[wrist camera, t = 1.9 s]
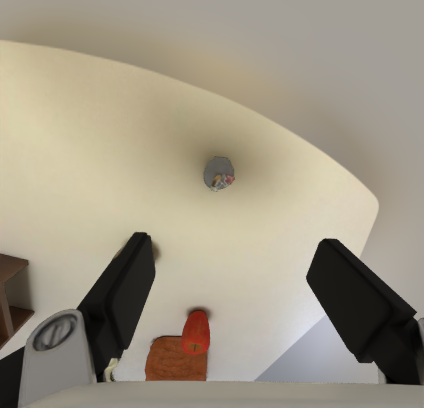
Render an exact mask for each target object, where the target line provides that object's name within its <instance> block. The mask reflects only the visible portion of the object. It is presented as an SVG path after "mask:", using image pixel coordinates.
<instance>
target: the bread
mask: <svg viewBox="0 0 424 408" xmlns="http://www.w3.org/2000/svg"><path fill="white" fill-rule="evenodd" d="M181 338H182V337H162V338H158V339H157V340H156V341H155V342H154V343H153V344H152V346H151V347H150V352H149V354H148V356H147V361H146V366H145V374H146V380H145V381H206V373H207V351H206V352H204V353H201V354H196V355H192V354H188V353H186V352H185V351H184V350H183V349H182V346H181Z"/></svg>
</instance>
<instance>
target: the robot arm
mask: <svg viewBox="0 0 424 408" xmlns="http://www.w3.org/2000/svg"><path fill="white" fill-rule="evenodd" d="M154 278H155V264H154V257H153V250H152V243H151V237H150V235H147V233H145V232H135V233H134V234H133V235H132V237H131V238H130V240H129V241H128V242H127V244H126V245H125V247H124V248H123V249H122V251H121V252H120V254H119V255H118V256H117V257H115V258H114V259H113V260H112V261H111V262H110V264H109V265H108V266H107V268H106V269H105V271H104V272H103V273H102V275H101V276H100V277H99V279H98V280H97V281H96V283H95V284H94V285H93V287H92V288H91V290H90V291H89V292H88V294H87V295H86V296H85V298H84V299H83V300H82V302H81V303H80V305H79V306H78V307H77V309H68V310H63V311H60V312H58V313H55V314H54V315H52V316H50V317H49V318H47V319H46V320H44V321H43V322H42V323H41V324H39V325H38V326H37V328H36V329H35V330H34V331H33V332H32V333H31V335H30V336H29V338H28V339H27V342H26V345H25V346H24V347H22V348H20V349H18V350H17V351H15V352H13V353H11V354H10V355H8V356H6V357H5V358H3V359H1V360H0V408H424V318H421V319H419V320H418V321H417V320H416V319H414V318H413V316H414V315H415V314H416V313H417V312H416V311H415V310H414V309H413V308H412V307H411V306H410V305H409V304H408V303H407V302H405V301H404V300H403V299H402V298H401V297H400V296H399V295H398V294H397V293H396V292H394V291H393V290H392V289H391V288H390V287H389V286H388V285H387V284H386V283H385V282H384V281H382V280H381V279H380V278H379V277H378V276H377V275H376V274H375V273H374V272H372V271H371V270H370V269H369V268H368V267H367V266H366V265H365V264H364V263H363V262H362V261H360V260H359V259H358V258H357V257H356V256H355V255H354V254H353V253H352V252H351V251H350V250H348V249H347V248H346V247H345V246H344V245H343V244H342V243H341V242H340V241H339V240H337V239H326V238H325V239H323V240H322V241H320V243H319V245H318V247H317V250H316V252H315V255H314V258H313V260H312V263H311V265H310V268H309V270H308V273H307V276H306V280H307V282H308V284H309V286H310V288H311V289H312V291H313V292H314V294H315V296H316V297H317V299H318V301H319V302H320V304H321V306H322V307H323V309H324V311H325V312H326V314H327V316H328V317H329V319H330V320H331V322H332V324H333V325H334V327H335V329H336V330H337V332H338V334H339V335H340V337H341V338H342V340H343V342H344V343H345V345H346V347H347V348H348V350H349V351H350V352H351V353H352V354H354V356H355V357H356V359H357V361H358V362H359V363H372V362H373V361H374V362H375V363H376V365H377V366H378V378H379V379H378V380H379V384H356V383H308V382H246V381H117V382H108V378H107V373H106V368H107V367H108V366H109V363H110V361H111V359H112V358H120V359H121V356H122V354H123V351H124V350H126V349H128V347H129V345H130V343H131V340H132V338H133V335H134V332H135V329H136V327H137V324H138V321H139V319H140V316H141V313H142V311H143V308H144V305H145V303H146V300H147V297H148V295H149V292H150V289H151V286H152V284H153V281H154Z"/></svg>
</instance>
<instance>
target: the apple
mask: <svg viewBox="0 0 424 408" xmlns="http://www.w3.org/2000/svg"><path fill="white" fill-rule="evenodd" d="M209 345H210V329H209V323H208V318H207V316H206V314H205V313H204V312H203V311H195V312H193V313H191V314H190V316H189V317H188V319H187V321H186V323H185V326H184V329H183V333H182V338H181V346H182V349H183V350H184V351H185V352H186V353H188V354H192V355H196V354H201V353H204V352H206V351H207V350H208V348H209Z"/></svg>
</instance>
